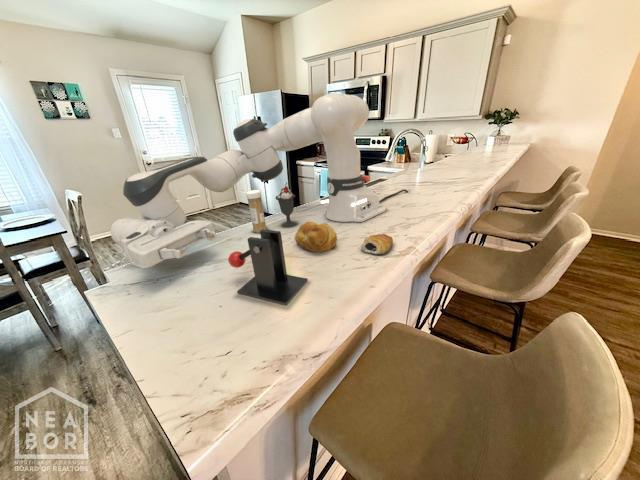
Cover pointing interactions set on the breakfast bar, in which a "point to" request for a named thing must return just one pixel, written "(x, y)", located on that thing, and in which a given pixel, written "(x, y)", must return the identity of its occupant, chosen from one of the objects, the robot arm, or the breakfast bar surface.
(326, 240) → the bread roll
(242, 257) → the switch lever
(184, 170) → the robot arm
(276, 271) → the switch base
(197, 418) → the breakfast bar surface
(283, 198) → the sundae
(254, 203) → the sprinkles bottle
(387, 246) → the pastry
